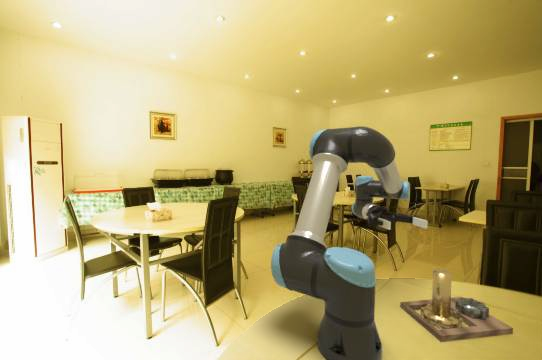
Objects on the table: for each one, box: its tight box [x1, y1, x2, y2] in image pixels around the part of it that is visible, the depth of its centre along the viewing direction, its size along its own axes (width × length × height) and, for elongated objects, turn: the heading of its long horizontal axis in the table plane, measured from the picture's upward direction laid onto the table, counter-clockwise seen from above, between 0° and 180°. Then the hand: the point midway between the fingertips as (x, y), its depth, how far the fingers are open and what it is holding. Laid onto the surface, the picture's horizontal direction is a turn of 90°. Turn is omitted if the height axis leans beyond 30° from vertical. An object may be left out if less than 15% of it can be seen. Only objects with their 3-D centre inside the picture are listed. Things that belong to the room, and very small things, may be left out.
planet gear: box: [420, 268, 463, 330], centre depth 73 cm, size 10×10×14 cm
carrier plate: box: [399, 296, 514, 343], centre depth 74 cm, size 21×16×2 cm
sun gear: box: [455, 296, 490, 320], centre depth 75 cm, size 8×8×2 cm
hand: (408, 225), depth 87 cm, fingers open, 13 cm apart
